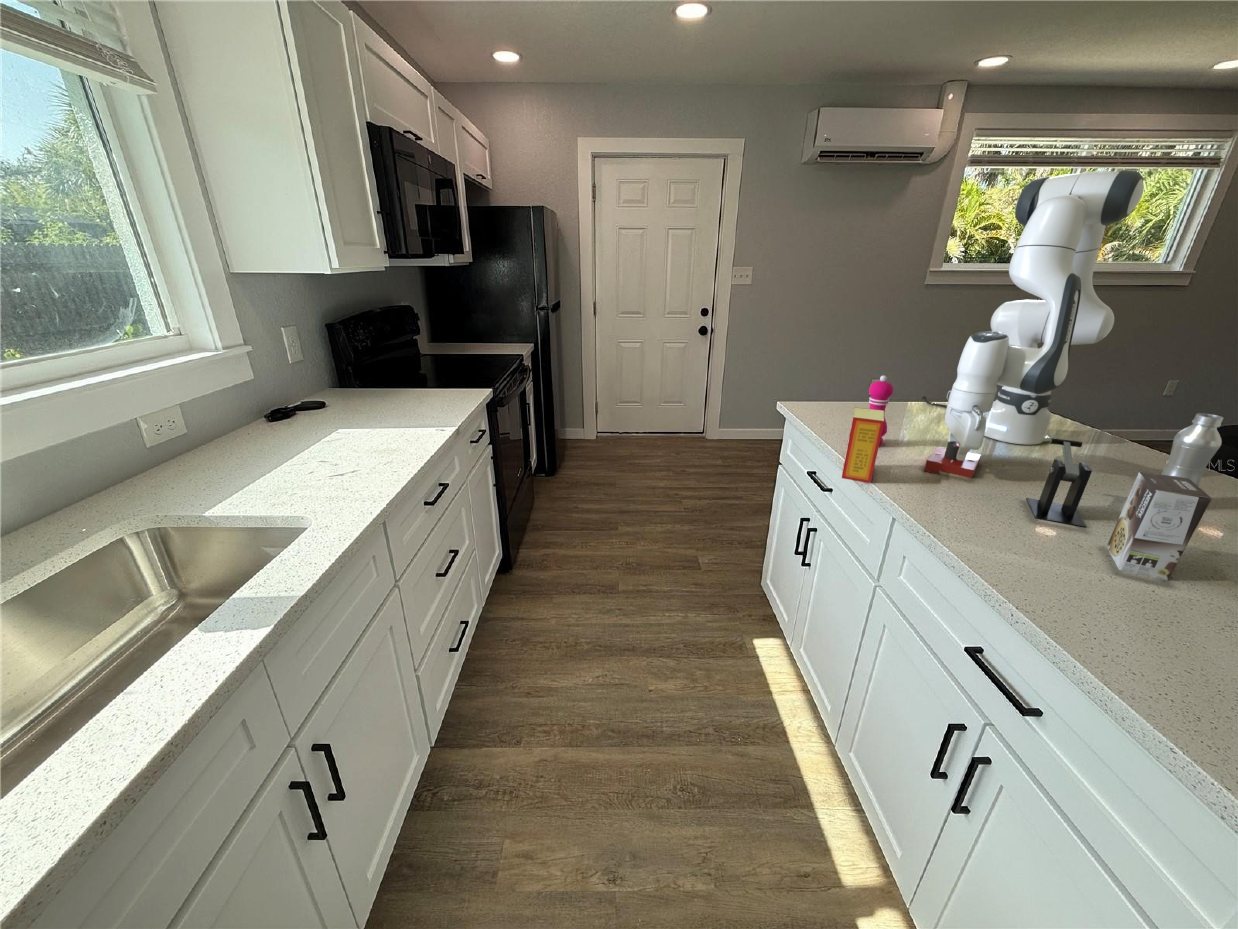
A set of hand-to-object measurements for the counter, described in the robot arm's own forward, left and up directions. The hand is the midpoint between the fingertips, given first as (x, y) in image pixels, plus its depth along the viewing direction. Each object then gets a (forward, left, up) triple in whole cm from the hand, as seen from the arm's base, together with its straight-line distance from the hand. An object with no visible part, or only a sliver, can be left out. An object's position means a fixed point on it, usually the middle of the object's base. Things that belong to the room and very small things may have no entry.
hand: (955, 453), depth 124 cm
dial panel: (0, 0, -4) cm, 4 cm away
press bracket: (+22, +14, -4) cm, 26 cm away
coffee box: (+39, +20, -4) cm, 44 cm away
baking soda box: (+12, -23, -4) cm, 26 cm away
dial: (0, 0, -1) cm, 1 cm away
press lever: (+18, +15, +7) cm, 24 cm away
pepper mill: (-13, -18, -4) cm, 23 cm away
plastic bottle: (+6, +40, -4) cm, 41 cm away
